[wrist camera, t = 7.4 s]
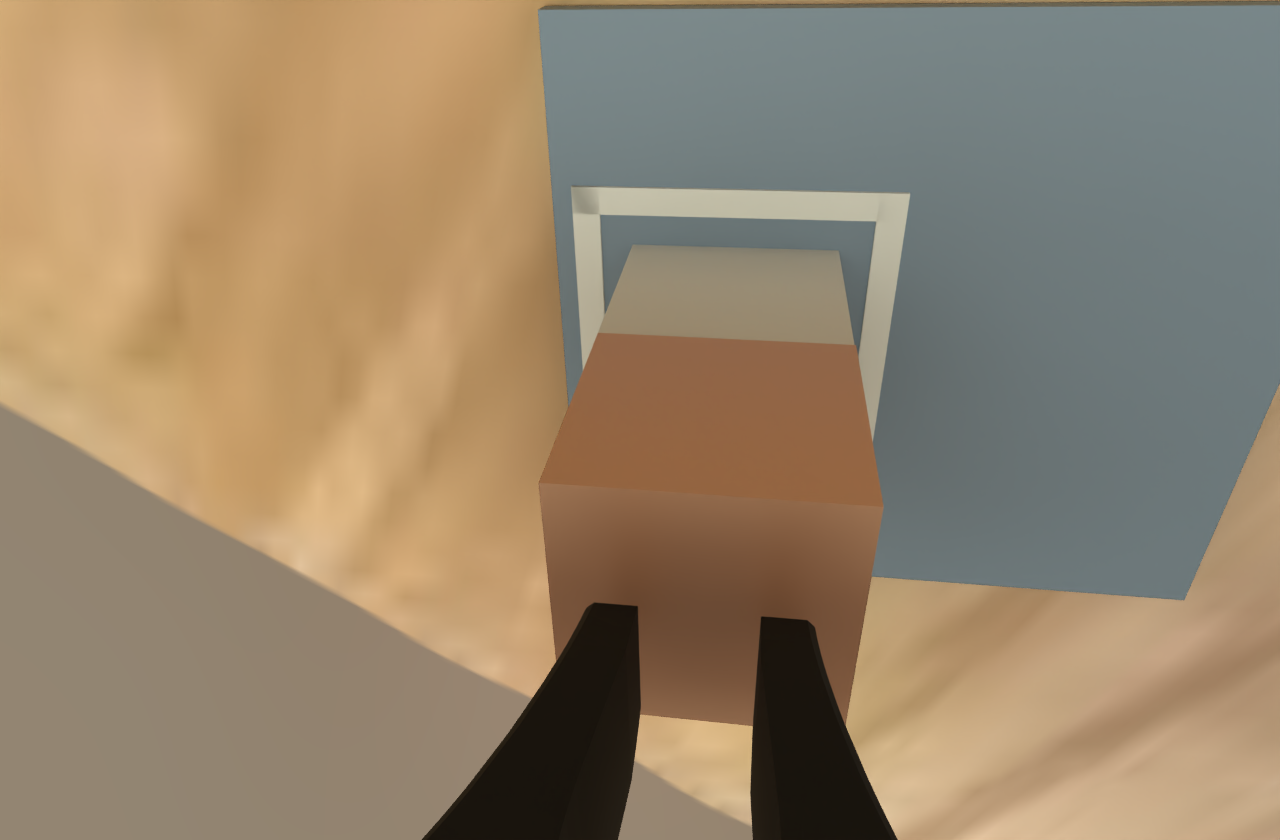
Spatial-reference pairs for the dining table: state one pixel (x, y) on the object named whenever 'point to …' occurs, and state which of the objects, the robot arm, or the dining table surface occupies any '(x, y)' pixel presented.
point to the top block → (714, 509)
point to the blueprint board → (969, 246)
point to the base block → (731, 294)
